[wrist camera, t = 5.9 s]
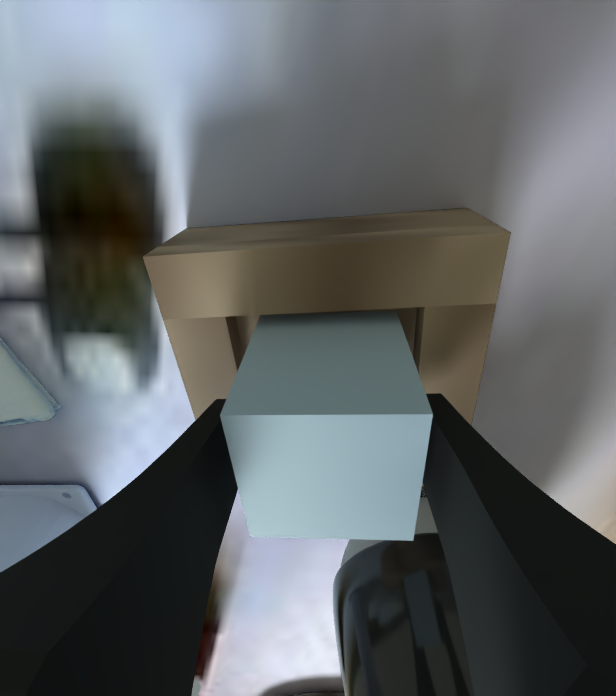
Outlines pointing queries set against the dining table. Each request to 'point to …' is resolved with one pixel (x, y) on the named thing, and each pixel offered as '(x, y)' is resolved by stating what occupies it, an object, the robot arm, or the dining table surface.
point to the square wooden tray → (334, 290)
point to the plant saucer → (321, 694)
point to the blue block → (328, 427)
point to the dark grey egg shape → (399, 617)
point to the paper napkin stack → (21, 392)
